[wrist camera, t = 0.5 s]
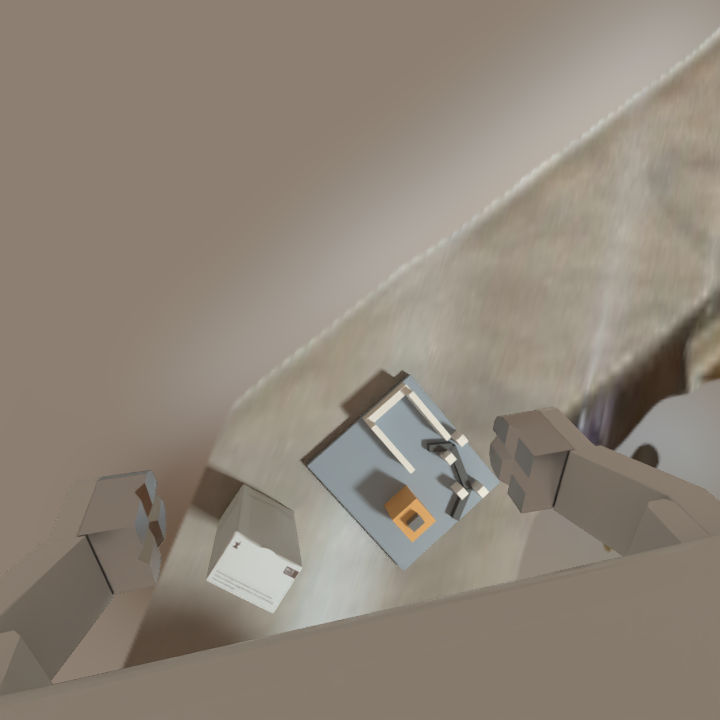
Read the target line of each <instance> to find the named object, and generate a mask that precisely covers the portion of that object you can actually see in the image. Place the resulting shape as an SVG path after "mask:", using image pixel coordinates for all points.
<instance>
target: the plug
mask: <svg viewBox="0 0 720 720" xmlns="http://www.w3.org/2000/svg"><path fill="white" fill-rule="evenodd" d="M384 506H385V508H386V510H387V511H388V513H389V515H390V517H391V519H392V521H393V522H394V523H395V524H396V525H397V526H398V527H399V528H400V529H401V530H402V532H403V533H404V534H405V535H406V536H407V537H408V538H409V539H410V540H411V542H412V543H413V542H414V541H415V540H416V539H417V538H418V537H419V536H420V535H421V534H422V533H423V532H425V531H426V530H427V529H428V528H429V527H430V526H431V525H432V524H433V523H434V522H435V521H436V520H435V519H434V517H433V516H432V515H431V513H430V512H429V511H428V510H427V508H426V507H425V506H424V504H423V503H422V502H421V501H420V500H419V499H418V498H417V497H416V495H415V494H414V493H413V492H412V491H411V490H410V489H409V487H408V486H407V485H405V486H404V487H403V488H402V489H401V490H400V491H399V492H398V493H397V494H395V495H394V496H393V497H392V498H391V499H390V500H389V501H388V502H387V503H385V504H384Z"/></svg>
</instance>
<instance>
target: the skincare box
mask: <svg viewBox="0 0 720 720" xmlns="http://www.w3.org/2000/svg"><path fill="white" fill-rule="evenodd" d="M301 569H302V561H301V555H300V548H299V541H298V535H297V528H296V522H295V515H294V512H293V511H291V510H290V509H288V508H286V507H284V506H283V505H281V504H279V503H277V502H276V501H274V500H272V499H270V498H268V497H267V496H265V495H263V494H261V493H259V492H257V491H255V490H253V489H251V488H250V487H248V486H247V485H245V484H243V485H242V486H241V488H240V489H239V491H238V492H237V494H236V495H235V497H234V498H233V500H232V501H231V503H230V505H229V506H228V508H227V509H226V511H225V512H224V514H223V515H222V517H221V518H220V520H219V523H218V527H217V532H216V536H215V541H214V545H213V549H212V554H211V558H210V563H209V567H208V572H207V577H206V581H208V582H210V583H212V584H214V585H216V586H218V587H220V588H222V589H224V590H226V591H228V592H230V593H232V594H234V595H236V596H238V597H240V598H242V599H244V600H246V601H248V602H250V603H252V604H254V605H256V606H258V607H260V608H262V609H264V610H266V611H268V612H270V613H272V614H273V613H274V611H275V610H276V608H277V607H278V605H279V604H280V602H281V601H282V599H283V597H284V596H285V594H286V592H287V591H288V589H289V588H290V586H291V585H292V583H293V581H294V580H295V578H296V577H297V575H298V574H299V572H300V571H301Z"/></svg>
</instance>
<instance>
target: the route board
mask: <svg viewBox="0 0 720 720" xmlns="http://www.w3.org/2000/svg"><path fill="white" fill-rule="evenodd" d="M467 442H468V440H467V439H466V438H465V436H464V435H463V434H461V433H460V432H458V431H457V430H456V429H455V428H454V426H453V425H452V424H451V423H450V422H449V420H448V419H447V418H446V417H445V416H444V415H443V413H442V412H441V411H440V410H439V409H438V407H437V406H436V405H435V404H434V403H433V401H432V400H431V399H430V398H429V397H428V395H427V394H426V393H425V392H424V391H423V389H422V388H421V387H420V386H419V385H418V383H417V382H416V381H415V380H414V379H413V377H412V376H411V375H409V374H408V375H407V376H406V377H405V378H404V379H403V380H402V381H400V382H399V383H398V384H397V385H396V386H395V387H394V388H392V389H391V390H390V391H389V392H388V393H387V394H386V395H385V396H383V397H382V398H381V399H380V400H379V401H378V402H377V403H375V404H374V405H373V406H372V407H371V408H370V409H369V410H368V411H366V412H365V413H364V414H363V415H362V416H361V417H360V418H359V419H357V420H356V421H355V422H354V423H353V424H352V425H351V426H349V427H348V428H347V429H346V430H345V431H344V432H343V433H342V434H340V435H339V436H338V437H337V438H336V439H335V440H334V441H332V442H331V443H330V444H329V445H328V446H327V447H326V448H325V449H323V450H322V451H321V452H320V453H319V454H318V455H317V456H315V457H314V458H313V459H312V460H311V461H310V462H309V463H308V464H307V466H308V468H309V469H310V470H311V471H312V472H313V473H314V474H315V475H316V476H317V477H318V478H319V480H320V481H321V482H322V483H323V484H324V485H325V486H326V487H327V488H328V489H329V490H330V491H331V493H332V494H333V495H334V496H335V497H336V498H337V499H338V500H339V501H340V502H341V503H342V504H343V506H344V507H345V508H346V509H347V510H348V511H349V512H350V513H351V514H352V515H353V516H354V518H355V519H356V520H357V521H358V522H359V523H360V524H361V525H362V526H363V527H364V528H365V529H366V531H367V532H368V533H369V534H370V535H371V536H372V537H373V538H374V539H375V540H376V541H377V543H378V544H379V545H380V546H381V547H382V548H383V549H384V550H385V551H386V552H387V553H388V554H389V556H390V557H391V558H392V559H393V560H394V561H395V562H396V563H397V564H398V565H399V566H400V568H401V569H402V570H403V571H404V570H405V569H406V568H407V567H408V566H410V565H411V564H412V563H413V562H414V561H415V560H416V559H417V558H418V557H419V556H420V555H421V554H423V553H424V552H425V551H426V550H427V549H428V548H429V547H430V546H431V545H432V544H433V543H435V542H436V541H437V540H438V539H439V538H440V537H441V536H442V535H443V534H444V533H445V532H446V531H448V530H449V529H450V528H451V527H452V526H453V525H454V524H455V523H456V522H457V521H459V520H460V519H461V518H462V517H463V516H464V515H465V514H466V513H467V512H468V511H469V510H470V509H471V508H473V507H474V506H475V505H476V504H477V503H478V502H479V501H480V500H481V499H482V498H483V497H485V496H486V495H487V494H488V493H489V492H490V491H491V490H492V489H493V488H494V487H495V486H496V485H498V484H499V483H500V482H499V480H498V479H497V478H496V477H495V476H494V474H493V473H492V472H491V471H490V470H489V468H488V467H487V466H486V465H485V464H484V462H483V461H482V460H481V459H480V458H479V456H478V455H477V454H476V453H475V452H474V450H473V449H472V448H471V447H470V446H469V444H468V443H467ZM405 485H407V486H408V487H409V489H410V490H411V491H412V492H413V493H414V494H415V495H416V497H417V498H418V499H419V500H420V501H421V502H422V503H423V504H424V506H425V507H426V508H427V510H428V511H429V512H430V513H431V515H432V516H433V517H434V519H435V520H436V521H435V522H434V523H433V524H432V525H431V526H430V527H429V528H428V529H427V530H426V531H425V532H423V533H422V534H421V535H420V536H419V537H418V538H417V539H416V540H415V541H414V542H413V543H412V542H411V540H410V539H409V538H408V537H407V536H406V535H405V534H404V533H403V532H402V530H401V529H400V528H399V527H398V526H397V525H396V524H395V523H394V522H393V521H392V519H391V517H390V515H389V513H388V511H387V510H386V508H385V506H384V504H385V503H387V502H388V501H389V500H390V499H391V498H392V497H393V496H394V495H395V494H397V493H398V492H399V491H400V490H401V489H402V488H403V487H404V486H405Z"/></svg>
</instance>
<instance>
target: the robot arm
mask: <svg viewBox="0 0 720 720" xmlns="http://www.w3.org/2000/svg"><path fill="white" fill-rule="evenodd" d="M493 430H494V432H495V433H496V435H497V436H496V438H495V439H494V440H493V441H492V442H491V443H490V452H489V455H490V462H491V466H492V468H493V471H494V473H495V474H496V476H497V478H498V479H499V480H500V481H502V482H504V483H506V484H507V485H509V488H508V494H509V496H510V497H511V499H512V500H513V502H514V503H515V505H516V506H517V508H518V509H519V511H520V512H521V514H522V513H528V512H534V511H540V510H545V509H551V508H554V510H555V511H556V512H558V513H559V514H561V515H562V516H564V517H565V518H567V519H568V520H570V521H571V522H573V523H574V524H576V525H577V526H578V527H580V528H581V529H583V530H584V531H586V532H587V533H589V534H590V535H592V536H594V537H595V538H596V539H598V540H599V541H601V542H602V543H604V544H605V545H607V546H608V547H610V548H611V549H613V550H614V551H616V552H617V553H619V554H620V555H622V557H618V558H614V559H609V560H605V561H601V562H596V563H591V564H587V565H583V566H579V567H574V568H569V569H565V570H560V571H556V572H551V573H547V574H542V575H538V576H533V577H529V578H525V579H520V580H516V581H511V582H507V583H502V584H498V585H493V586H489V587H484V588H480V589H476V590H471V591H467V592H462V593H458V594H453V595H449V596H444V597H440V598H436V599H431V600H427V601H422V602H418V603H413V604H409V605H404V606H400V607H396V608H391V609H387V610H382V611H378V612H373V613H369V614H364V615H360V616H356V617H351V618H347V619H342V620H338V621H333V622H329V623H324V624H320V625H316V626H311V627H307V628H302V629H298V630H293V631H289V632H284V633H280V634H275V635H271V636H266V637H262V638H257V639H253V640H249V641H244V642H240V643H235V644H231V645H226V646H222V647H217V648H213V649H208V650H204V651H199V652H195V653H191V654H186V655H182V656H177V657H173V658H168V659H164V660H159V661H155V662H151V663H146V664H142V665H137V666H133V667H128V668H124V669H120V670H116V671H111V672H106V673H102V674H97V675H93V676H88V677H84V678H80V679H75V680H71V681H67V682H62V683H57V684H52V682H51V680H52V679H53V677H54V676H55V675H56V673H57V672H58V671H59V669H60V668H61V667H62V665H63V664H64V663H65V662H66V660H67V659H68V658H69V656H70V655H71V654H72V652H73V651H74V649H75V648H76V647H77V645H78V644H79V643H80V642H81V640H82V639H83V638H84V636H85V635H86V634H87V632H88V631H89V630H90V628H91V627H92V626H93V624H94V623H95V622H96V620H97V619H98V618H99V616H100V615H101V614H102V612H103V611H104V610H105V608H106V607H107V606H108V604H109V603H110V602H111V601H112V599H113V598H114V597H113V595H116V594H121V593H125V592H130V591H134V590H139V589H143V588H147V587H152V586H156V585H157V581H158V576H159V570H160V564H161V555H160V552H159V549H158V547H159V546H160V545H161V544H162V542H163V541H164V540H165V533H166V513H165V507H164V503H163V500H162V498H161V497H160V496H158V495H156V494H155V491H156V486H157V482H156V479H155V476H154V474H153V472H152V471H150V470H148V471H142V472H133V473H127V474H119V475H111V476H104V477H101V478H92V479H84V480H77V481H76V482H75V483H74V484H73V485H72V486H71V487H70V490H69V492H68V494H67V497H66V499H65V502H64V504H63V506H62V509H61V511H60V513H59V516H58V518H57V520H56V523H55V525H54V527H53V530H52V532H51V534H50V537H49V539H48V541H47V542H46V543H41V544H38V545H37V546H36V547H35V548H34V549H32V550H31V551H30V552H29V553H28V554H27V555H26V556H25V557H23V558H22V559H21V560H20V561H18V562H17V563H16V564H15V565H14V566H12V567H11V568H10V569H9V570H8V571H7V572H5V573H4V574H3V575H2V576H1V577H0V720H720V502H719V501H718V500H717V499H716V498H715V497H714V496H713V495H712V494H710V493H709V492H708V491H707V490H706V489H704V488H701V487H699V486H696V485H694V484H692V483H689V482H687V481H684V480H682V479H680V478H677V477H675V476H673V475H670V474H668V473H665V472H663V471H661V470H658V469H656V468H653V467H651V466H649V465H646V464H644V463H641V462H639V461H637V460H634V459H632V458H629V457H627V456H624V455H622V454H620V453H617V452H615V451H613V450H610V449H608V448H605V447H603V446H594V445H593V444H592V443H591V442H590V441H589V440H588V439H587V438H586V437H585V436H584V435H583V434H582V433H581V432H580V431H579V430H578V429H577V428H576V427H575V426H574V425H573V424H572V423H571V422H570V421H569V420H568V419H567V418H566V417H565V416H564V415H563V414H562V413H561V412H560V411H559V410H558V409H557V408H554V407H548V408H543V409H537V410H534V411H527V412H521V413H515V414H509V415H503V416H497V418H496V419H495V421H494V426H493Z"/></svg>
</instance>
